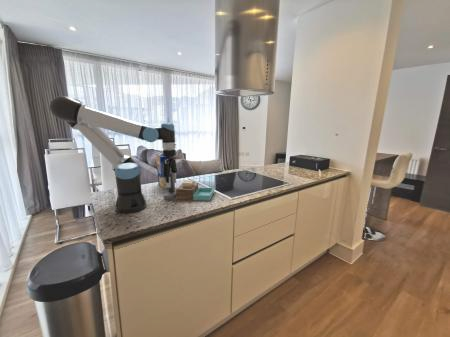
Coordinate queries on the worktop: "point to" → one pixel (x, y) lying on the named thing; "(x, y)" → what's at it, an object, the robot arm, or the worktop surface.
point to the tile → (188, 184)
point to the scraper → (171, 189)
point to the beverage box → (161, 170)
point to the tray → (203, 194)
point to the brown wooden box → (186, 192)
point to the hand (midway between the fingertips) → (171, 185)
